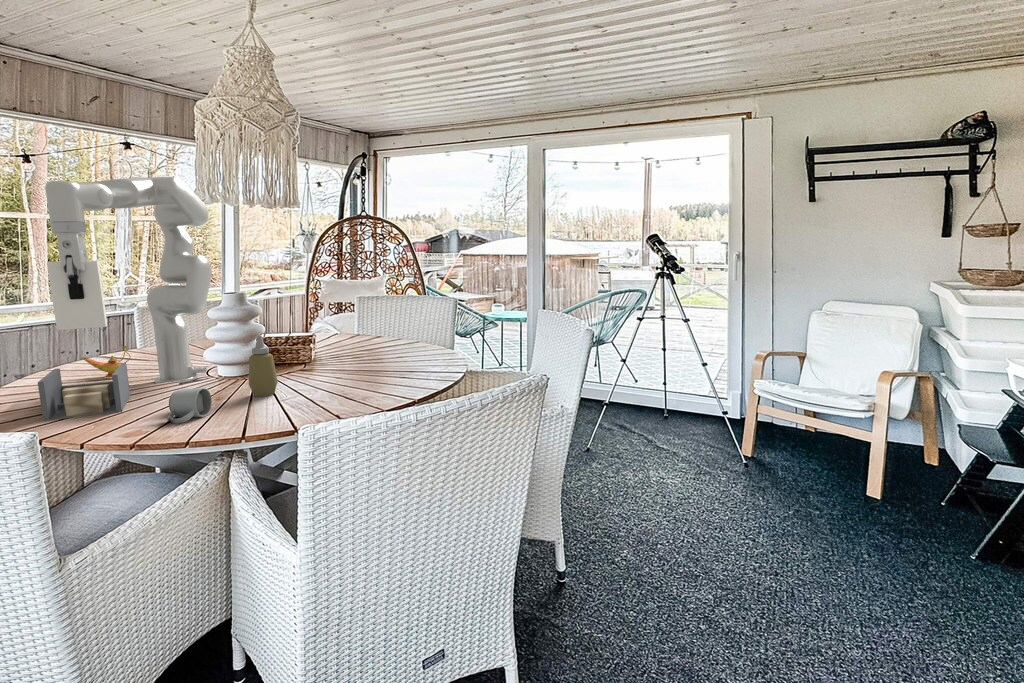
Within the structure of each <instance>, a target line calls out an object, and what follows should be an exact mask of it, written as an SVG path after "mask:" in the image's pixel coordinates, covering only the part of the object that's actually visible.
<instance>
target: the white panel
mask: <svg viewBox="0 0 1024 683" xmlns="http://www.w3.org/2000/svg"><path fill="white" fill-rule="evenodd" d="M85 265H86V271H85V272H81V270H80V278H81V284H83V291H84V299H72V300H71V299H70V297H69V290H68V281H67V273H65V272H66V270H65V272H63V271H62V269H61V264H60V261H47V262H46V266H47V273H48V279H49V284H50V285H49V286H50V292H51V293H50V294H51V298H52V299H51V300H52V307H53V312H54V313H53V314H54V319H55V320H54V321H55V326H56V331H65V330H66V331H68V330H83V329H94V328H95V329H98V328H106V327H108V319H107V318H108V317H107V312H106V305H105V304H106V303H105V298H104V291H103V290H104V289H103V288H104V287H103V282H102V273H101V268H100V266H101V265H100V260H99V259H98V260H88V261H85ZM64 269H66V265H65V266H64ZM74 272H77V270H76V271H74ZM76 275H77V274H76Z"/></svg>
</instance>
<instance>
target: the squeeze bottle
mask: <svg viewBox="0 0 1024 683" xmlns="http://www.w3.org/2000/svg"><path fill="white" fill-rule="evenodd" d="M269 352H270V348H269V346H267V345H265V342H264V338H263V337H262V335H261V334H257V335H256V341H255V346H254V347H251V353H252V354H251V355H249V357H248V386H249V388H250V390H251V392H252V395H253V396H255V397H262V398H263V397H269V396H273V395H275V393H276V388H277V386H278V380H279V379H278V376H277V370H276V366H275V361H274V356H273V354H271V353H269Z"/></svg>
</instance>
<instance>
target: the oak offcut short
mask: <svg viewBox="0 0 1024 683" xmlns="http://www.w3.org/2000/svg"><path fill="white" fill-rule="evenodd" d="M64 402H65V409H66V416H73V415H82V414H90V413H99V412H103V411H104V410H105V406H104V398H103V391H100V392H90V393H80V394H71V395H66V396H65V397H64Z"/></svg>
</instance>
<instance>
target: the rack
mask: <svg viewBox="0 0 1024 683" xmlns="http://www.w3.org/2000/svg"><path fill="white" fill-rule="evenodd" d="M120 363H121V364H120V365H119V367H118V368H117V369H116V371H115V372H114V373H113V374H112V378H111V380H110V381H109V380H108V381H99V382H89V383H78V384H67V385H63V381H62V375H61V368H54V369H52V370H51V371H50V372H49V373H47V374H46V375H45V376H43V377H42V378H41V379H40V380H39V381H37V386H38V393H39V394H38V395H39V401H40V406H41V407H40V408H41V414H42V420H43V421H44V422H46V421H54V420H63V419H70V418H79V417H89V416H95V415H96V416H97V415H105V414H106V415H107V414H115V413H122V412H123V411H124V409H125V407H126V406H127V403H128V401H129V400H130V398H131V390H130V382H129V373H128V367H127V362H126V363H124V362H120ZM104 384H109V389H110V397H111V404H112V405H111V407H110V408H105V410H104V411H103V412H99V413H90V414H82V415H73V416H66V413H65V407H64V400H63V394H62V390H64V389H65V388H74V387H84V386H94V385H104Z"/></svg>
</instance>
